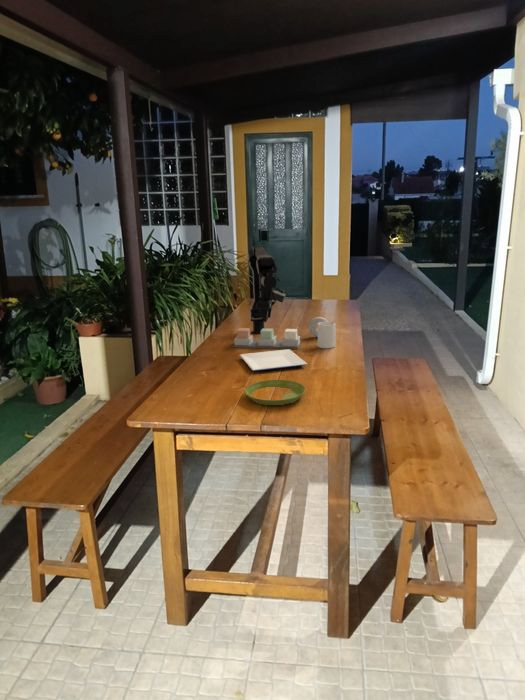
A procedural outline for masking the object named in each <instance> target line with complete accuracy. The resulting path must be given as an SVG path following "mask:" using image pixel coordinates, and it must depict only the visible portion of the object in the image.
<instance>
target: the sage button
mask: <svg viewBox="0 0 525 700" xmlns="http://www.w3.org/2000/svg"><path fill="white" fill-rule="evenodd" d="M274 331H275V330H274V328H266V327H264V328H263V329H262V330H261V333H260V336H261V339H273V337H274V334H275V333H274Z"/></svg>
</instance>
